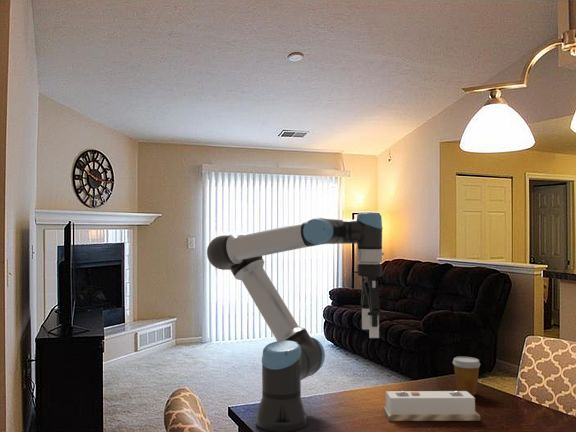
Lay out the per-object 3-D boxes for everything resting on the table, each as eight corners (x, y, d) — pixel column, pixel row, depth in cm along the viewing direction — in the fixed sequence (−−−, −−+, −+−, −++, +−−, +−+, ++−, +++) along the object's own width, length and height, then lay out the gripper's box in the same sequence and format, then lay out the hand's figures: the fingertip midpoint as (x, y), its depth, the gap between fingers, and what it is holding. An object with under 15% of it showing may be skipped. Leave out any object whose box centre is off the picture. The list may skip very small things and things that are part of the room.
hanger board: (388, 420, 156) (388, 415, 156) (383, 410, 165) (383, 406, 165) (480, 420, 156) (480, 415, 156) (469, 410, 165) (469, 405, 165)
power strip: (390, 414, 157) (390, 396, 157) (386, 407, 164) (385, 389, 164) (475, 414, 157) (474, 395, 157) (466, 406, 164) (466, 389, 164)
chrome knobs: (401, 414, 159) (400, 392, 160) (399, 412, 161) (399, 390, 161) (461, 414, 159) (460, 392, 160) (459, 412, 161) (458, 390, 162)
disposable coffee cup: (485, 392, 184) (484, 359, 184) (474, 399, 177) (474, 364, 177) (459, 387, 190) (458, 355, 191) (448, 393, 183) (448, 359, 183)
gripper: (390, 265, 144) (391, 341, 143) (374, 261, 169) (375, 326, 168) (364, 265, 144) (364, 341, 143) (351, 261, 168) (352, 326, 168)
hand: (370, 333), depth 155 cm, fingers open, 13 cm apart
